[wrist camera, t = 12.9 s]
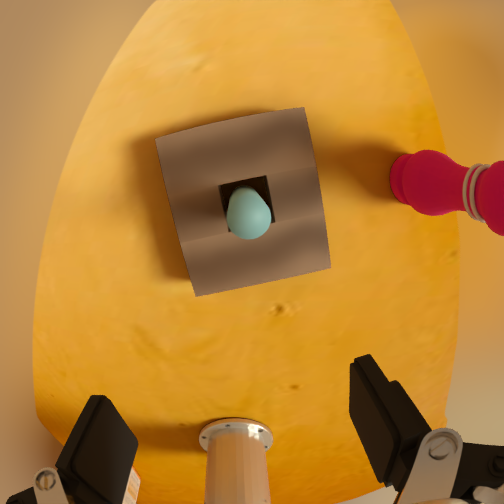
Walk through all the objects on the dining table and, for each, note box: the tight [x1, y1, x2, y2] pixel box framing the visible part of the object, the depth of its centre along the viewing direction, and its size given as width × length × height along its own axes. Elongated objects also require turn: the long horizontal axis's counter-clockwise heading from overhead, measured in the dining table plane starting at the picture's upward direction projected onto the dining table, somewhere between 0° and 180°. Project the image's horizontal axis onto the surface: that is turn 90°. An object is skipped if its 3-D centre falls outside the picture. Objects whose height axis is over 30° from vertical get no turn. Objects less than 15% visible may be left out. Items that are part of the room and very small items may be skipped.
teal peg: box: [227, 185, 271, 239], centre depth 24 cm, size 3×3×11 cm
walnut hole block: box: [155, 107, 331, 297], centre depth 28 cm, size 16×14×4 cm
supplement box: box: [122, 465, 141, 504], centre depth 39 cm, size 8×5×13 cm, turn 178°
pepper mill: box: [390, 150, 504, 236], centre depth 20 cm, size 7×7×20 cm
